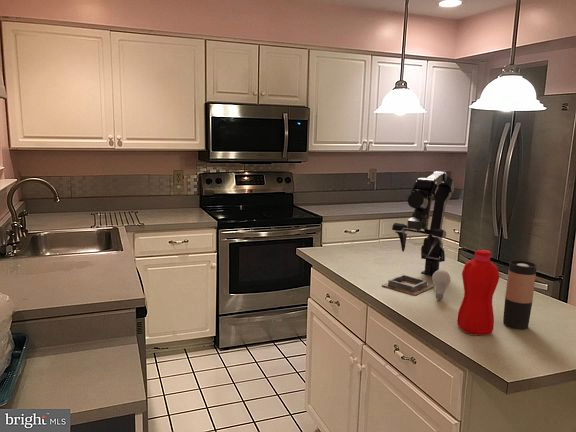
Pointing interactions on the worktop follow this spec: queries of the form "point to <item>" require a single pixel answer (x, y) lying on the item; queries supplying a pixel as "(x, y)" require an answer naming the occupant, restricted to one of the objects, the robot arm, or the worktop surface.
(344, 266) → the worktop surface
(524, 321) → the travel mug
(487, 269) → the water bottle
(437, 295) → the lightbulb
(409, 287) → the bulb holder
